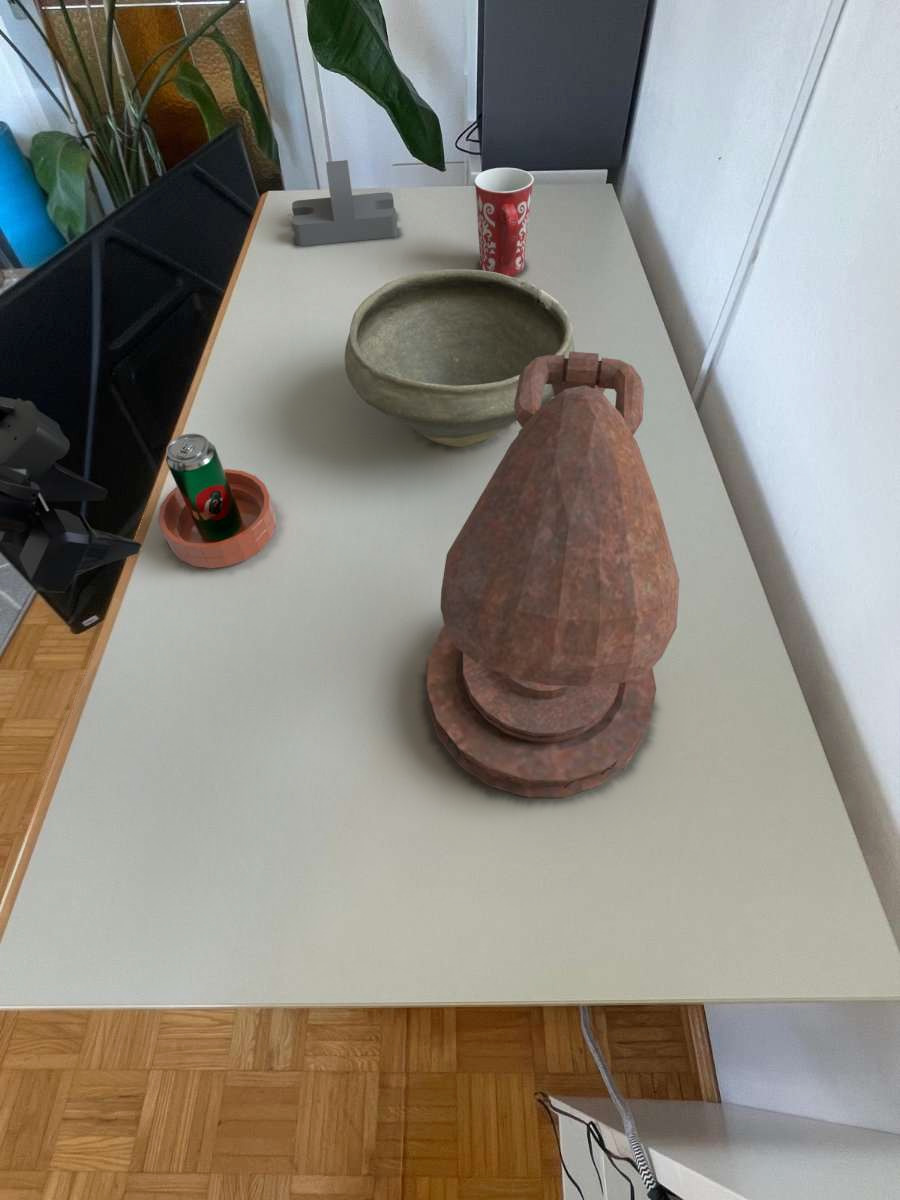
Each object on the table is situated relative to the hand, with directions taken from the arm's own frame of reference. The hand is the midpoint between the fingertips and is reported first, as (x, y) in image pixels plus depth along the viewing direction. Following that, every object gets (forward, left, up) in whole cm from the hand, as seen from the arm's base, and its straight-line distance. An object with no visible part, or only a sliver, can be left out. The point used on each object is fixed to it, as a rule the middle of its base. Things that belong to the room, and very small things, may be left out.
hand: (122, 520), depth 69 cm
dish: (+7, +7, -10) cm, 14 cm away
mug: (+49, +59, -10) cm, 77 cm away
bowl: (+37, +23, -10) cm, 44 cm away
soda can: (+7, +7, -9) cm, 13 cm away
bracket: (+24, +79, -10) cm, 83 cm away
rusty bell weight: (+38, -21, -10) cm, 44 cm away
